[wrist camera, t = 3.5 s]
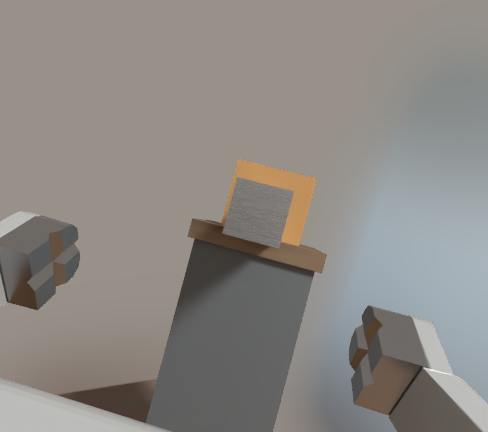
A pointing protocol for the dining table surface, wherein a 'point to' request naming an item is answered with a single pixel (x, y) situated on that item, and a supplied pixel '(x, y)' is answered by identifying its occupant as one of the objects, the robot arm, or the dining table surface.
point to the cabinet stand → (232, 333)
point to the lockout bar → (267, 204)
